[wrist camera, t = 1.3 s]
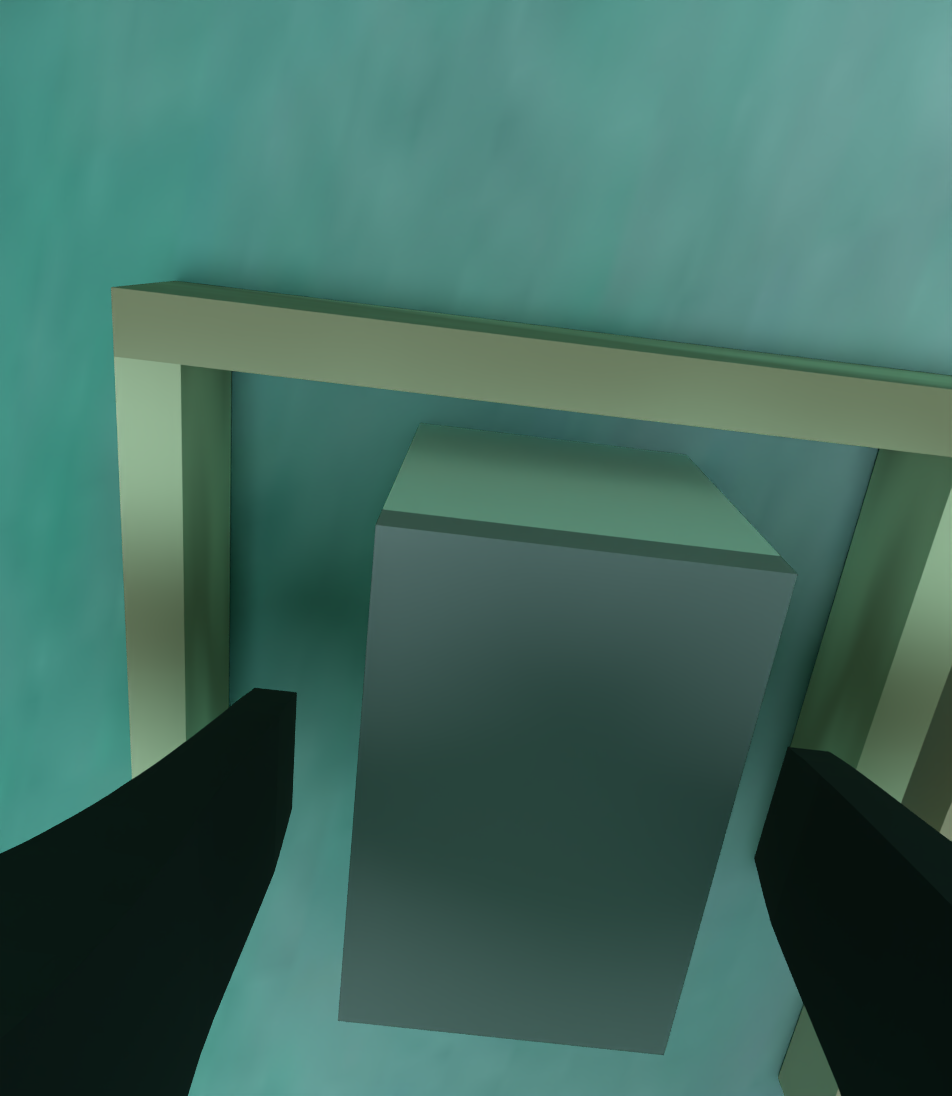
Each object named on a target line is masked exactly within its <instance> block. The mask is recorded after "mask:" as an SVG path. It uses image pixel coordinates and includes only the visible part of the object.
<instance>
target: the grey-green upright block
mask: <svg viewBox="0 0 952 1096" xmlns="http://www.w3.org/2000/svg"><path fill="white" fill-rule="evenodd" d="M797 575H798V574H797V573H796V572H795V571H794V570H793V569H792V568H791V567H790V566H789V565H788V564H787V562H786V561H785V560H784V559H783V558H782V557H781V556H780V555H779V554H778V553H777V552H776V551H775V550H774V549H773V547H772V546H771V545H770V544H769V543H768V542H767V541H766V540H765V539H764V538H763V537H762V536H761V535H760V534H759V532H758V531H757V530H756V529H755V528H754V527H753V526H752V525H751V524H750V523H749V522H748V521H747V520H746V519H745V517H744V516H743V515H742V514H741V513H740V512H739V511H738V510H737V509H736V508H735V507H734V506H733V505H732V504H731V502H730V501H729V500H728V499H727V498H726V497H725V496H724V495H723V494H722V493H721V492H720V491H719V490H718V489H717V487H716V486H715V485H714V484H713V483H712V482H711V481H710V480H709V479H708V478H707V477H706V476H705V475H704V473H703V472H702V471H701V470H700V469H699V468H698V467H697V466H696V465H695V464H694V463H693V462H692V461H691V460H690V458H689V457H688V456H687V455H684V454H676V453H667V452H659V451H651V450H642V449H634V448H625V447H617V446H609V445H600V444H592V443H583V442H575V441H567V440H558V439H550V438H542V437H533V436H525V435H516V434H508V433H500V432H491V431H483V430H475V429H466V428H458V427H449V426H441V425H433V424H424V423H420V425H419V427H418V429H417V432H416V434H415V436H414V438H413V441H412V443H411V445H410V448H409V450H408V452H407V454H406V457H405V459H404V461H403V464H402V466H401V468H400V470H399V473H398V475H397V477H396V480H395V482H394V484H393V486H392V489H391V491H390V493H389V496H388V498H387V500H386V502H385V505H384V507H383V509H382V512H381V514H380V516H379V519H378V521H377V523H376V527H375V540H374V554H373V567H372V580H371V593H370V606H369V619H368V632H367V646H366V659H365V672H364V685H363V698H362V711H361V724H360V738H359V751H358V764H357V777H356V790H355V803H354V817H353V830H352V843H351V856H350V869H349V882H348V895H347V909H346V922H345V935H344V948H343V961H342V974H341V987H340V1001H339V1014H338V1021H345V1022H354V1023H364V1024H373V1025H383V1026H392V1027H402V1028H411V1029H421V1030H430V1031H440V1032H449V1033H459V1034H468V1035H478V1036H487V1037H497V1038H506V1039H515V1040H525V1041H534V1042H544V1043H553V1044H563V1045H572V1046H582V1047H591V1048H601V1049H610V1050H620V1051H629V1052H639V1053H648V1054H658V1055H664V1053H665V1049H666V1046H667V1042H668V1038H669V1035H670V1031H671V1028H672V1024H673V1020H674V1017H675V1013H676V1010H677V1006H678V1002H679V999H680V995H681V992H682V988H683V984H684V981H685V977H686V974H687V970H688V967H689V963H690V959H691V956H692V952H693V949H694V945H695V941H696V938H697V934H698V931H699V927H700V923H701V920H702V916H703V913H704V909H705V905H706V902H707V898H708V895H709V891H710V887H711V884H712V880H713V877H714V873H715V869H716V866H717V862H718V859H719V855H720V852H721V848H722V844H723V841H724V837H725V834H726V830H727V826H728V823H729V819H730V816H731V812H732V808H733V805H734V801H735V798H736V794H737V790H738V787H739V783H740V780H741V776H742V772H743V769H744V765H745V762H746V758H747V754H748V751H749V747H750V744H751V740H752V737H753V733H754V729H755V726H756V722H757V719H758V715H759V711H760V708H761V704H762V701H763V697H764V693H765V690H766V686H767V683H768V679H769V675H770V672H771V668H772V665H773V661H774V657H775V654H776V650H777V647H778V643H779V639H780V636H781V632H782V629H783V625H784V622H785V618H786V614H787V611H788V607H789V604H790V600H791V596H792V593H793V589H794V586H795V582H796V578H797Z"/></svg>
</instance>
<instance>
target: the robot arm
mask: <svg viewBox="0 0 952 1096" xmlns="http://www.w3.org/2000/svg"><path fill="white" fill-rule="evenodd" d="M296 698H297V693H296V692H287V691H278V690H269V689H260V688H254V689H253V690H251V691H250V692H249V693H247V694H246V695H245V696H243V697H242V698H241V699H239V700H238V701H237V702H235V703H234V704H233V705H232V706H230V707H229V708H228V709H226V710H225V711H224V712H223V713H221V714H220V715H219V716H218V717H216V718H215V719H214V720H213V721H211V722H210V723H209V724H207V725H206V726H205V727H204V728H202V729H201V730H200V731H198V732H197V733H196V734H195V735H193V736H192V737H191V738H189V739H188V740H187V741H185V742H184V743H183V744H181V745H180V746H179V747H177V748H176V749H175V750H173V751H172V752H171V753H169V754H168V755H166V756H165V757H164V758H162V759H161V760H160V761H158V762H157V763H156V764H154V765H153V766H151V767H150V768H148V769H147V770H145V771H144V772H142V773H141V774H139V775H138V776H136V777H135V778H133V779H132V780H130V781H129V782H127V783H126V784H124V785H123V786H121V787H120V788H118V789H117V790H115V791H114V792H112V793H111V794H109V795H108V796H106V797H105V798H103V799H101V800H100V801H98V802H96V803H95V804H93V805H91V806H90V807H88V808H86V809H85V810H83V811H81V812H79V813H78V814H76V815H74V816H72V817H71V818H69V819H67V820H65V821H63V822H62V823H60V824H58V825H56V826H54V827H52V828H51V829H49V830H47V831H45V832H43V833H41V834H40V835H38V836H36V837H34V838H32V839H30V840H28V841H26V842H24V843H22V844H20V845H18V846H16V847H14V848H11V849H9V850H7V851H5V852H3V853H1V854H0V1096H188V1093H189V1090H190V1087H191V1083H192V1080H193V1077H194V1074H195V1071H196V1067H197V1064H198V1061H199V1058H200V1055H201V1052H202V1049H203V1047H204V1044H205V1041H206V1038H207V1036H208V1033H209V1030H210V1028H211V1025H212V1022H213V1019H214V1017H215V1015H216V1012H217V1010H218V1007H219V1005H220V1003H221V1000H222V998H223V995H224V993H225V991H226V988H227V986H228V983H229V981H230V979H231V976H232V974H233V971H234V969H235V966H236V964H237V962H238V959H239V957H240V954H241V952H242V950H243V947H244V945H245V942H246V940H247V938H248V935H249V933H250V930H251V928H252V926H253V923H254V921H255V918H256V916H257V913H258V911H259V909H260V906H261V904H262V901H263V899H264V896H265V894H266V891H267V889H268V886H269V884H270V881H271V879H272V876H273V874H274V871H275V868H276V864H277V861H278V857H279V854H280V850H281V847H282V843H283V840H284V836H285V832H286V829H287V825H288V821H289V817H290V814H291V810H292V794H293V770H294V746H295V722H296ZM754 859H755V863H756V867H757V871H758V875H759V879H760V883H761V887H762V892H763V896H764V899H765V903H766V906H767V910H768V913H769V917H770V921H771V924H772V927H773V929H774V932H775V935H776V937H777V940H778V942H779V945H780V947H781V950H782V952H783V955H784V957H785V960H786V962H787V965H788V967H789V970H790V972H791V974H792V977H793V979H794V982H795V984H796V987H797V989H798V991H799V994H800V996H801V999H802V1001H803V1004H804V1006H805V1008H806V1011H807V1013H808V1016H809V1018H810V1020H811V1023H812V1025H813V1028H814V1030H815V1032H816V1035H817V1037H818V1040H819V1042H820V1045H821V1047H822V1049H823V1052H824V1054H825V1057H826V1059H827V1061H828V1064H829V1066H830V1069H831V1071H832V1074H833V1076H834V1078H835V1081H836V1083H837V1086H838V1089H839V1091H840V1094H841V1096H952V841H950V840H949V839H947V838H946V837H945V836H943V835H942V834H941V833H939V832H938V831H937V830H936V829H934V828H933V827H932V826H930V825H929V824H928V823H926V822H925V821H924V820H922V819H921V818H920V817H918V816H917V815H916V814H914V813H913V812H912V811H910V810H909V809H908V808H907V807H905V806H904V805H903V804H901V803H900V802H899V801H897V800H896V799H895V798H893V797H892V796H891V795H890V794H888V793H887V792H886V791H884V790H883V789H882V788H880V787H879V786H878V785H876V784H875V783H874V782H872V781H871V780H870V779H868V778H867V777H866V776H864V775H863V774H862V773H860V772H859V771H858V770H856V769H855V768H853V767H852V766H851V765H849V764H848V763H846V762H845V761H843V760H842V759H840V758H839V757H837V756H836V755H834V754H832V753H831V752H829V751H821V750H812V749H803V748H794V747H788V748H787V751H786V755H785V758H784V761H783V765H782V768H781V771H780V775H779V778H778V781H777V785H776V788H775V791H774V795H773V798H772V801H771V804H770V808H769V811H768V814H767V818H766V821H765V824H764V828H763V831H762V834H761V838H760V841H759V844H758V848H757V851H756V854H755V858H754Z"/></svg>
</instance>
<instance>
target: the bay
mask: <svg viewBox="0 0 952 1096" xmlns="http://www.w3.org/2000/svg"><path fill="white" fill-rule="evenodd" d="M111 296H112V319H113V343H114V366H115V390H116V413H117V436H118V460H119V483H120V507H121V530H122V554H123V577H124V600H125V624H126V647H127V671H128V694H129V718H130V741H131V764H132V779H133V778H135V777H136V776H138V775H139V774H141V773H142V772H144V771H145V770H147V769H148V768H150V767H151V766H153V765H154V764H156V763H157V762H158V761H160V760H161V759H162V758H164V757H165V756H166V755H168V754H169V753H171V752H172V751H173V750H175V749H176V748H177V747H179V746H180V745H181V744H183V743H184V742H185V741H187V740H188V739H189V738H191V737H192V736H193V735H195V734H196V733H197V732H198V731H200V730H201V729H202V728H204V727H205V726H206V725H207V724H209V723H210V722H211V721H213V720H214V719H215V718H216V717H218V716H219V715H220V714H221V713H223V712H224V711H225V710H226V709H228V708H229V613H230V489H231V371H238V372H246V373H255V374H263V375H271V376H280V377H288V378H296V379H305V380H313V381H321V382H330V383H338V384H346V385H355V386H363V387H371V388H380V389H388V390H396V391H405V392H413V393H421V394H430V395H438V396H446V397H455V398H463V399H471V400H480V401H488V402H496V403H505V404H513V405H521V406H530V407H538V408H546V409H555V410H563V411H571V412H580V413H588V414H596V415H605V416H613V417H621V418H630V419H638V420H646V421H655V422H663V423H671V424H680V425H688V426H696V427H705V428H713V429H721V430H730V431H738V432H746V433H755V434H763V435H771V436H780V437H788V438H796V439H805V440H813V441H821V442H830V443H838V444H846V445H855V446H863V447H871V448H880V449H879V453H878V456H877V459H876V463H875V466H874V469H873V473H872V476H871V479H870V483H869V486H868V489H867V493H866V496H865V499H864V503H863V506H862V509H861V513H860V516H859V519H858V523H857V526H856V529H855V533H854V536H853V539H852V543H851V546H850V549H849V553H848V556H847V559H846V563H845V566H844V569H843V573H842V576H841V579H840V583H839V586H838V589H837V593H836V596H835V599H834V603H833V606H832V609H831V613H830V616H829V619H828V623H827V626H826V629H825V633H824V636H823V639H822V643H821V646H820V649H819V653H818V656H817V659H816V663H815V666H814V669H813V673H812V676H811V679H810V683H809V686H808V689H807V693H806V696H805V699H804V703H803V706H802V709H801V713H800V716H799V719H798V723H797V726H796V729H795V733H794V736H793V739H792V743H791V746H790V747H794V748H803V749H812V750H821V751H829V752H831V753H832V754H834V755H836V756H837V757H839V758H840V759H842V760H843V761H845V762H846V763H848V764H849V765H851V766H852V767H853V768H855V769H856V770H858V771H859V772H860V773H862V774H863V775H864V776H866V777H867V778H868V779H870V780H871V781H872V782H874V783H875V784H876V785H878V786H879V787H880V788H882V789H883V790H884V791H886V792H887V793H888V794H890V795H891V796H892V797H893V798H895V799H896V800H897V801H899V802H900V803H901V802H902V799H903V796H904V794H905V791H906V788H907V786H908V783H909V780H910V777H911V775H912V772H913V769H914V767H915V764H916V761H917V758H918V756H919V753H920V750H921V748H922V745H923V742H924V739H925V737H926V734H927V731H928V729H929V726H930V723H931V720H932V718H933V715H934V712H935V710H936V707H937V704H938V701H939V699H940V696H941V693H942V691H943V688H944V685H945V682H946V680H947V677H948V674H949V672H950V669H951V666H952V376H950V375H941V374H933V373H925V372H917V371H909V370H901V369H892V368H884V367H876V366H868V365H860V364H851V363H843V362H835V361H827V360H819V359H810V358H802V357H794V356H786V355H778V354H770V353H761V352H753V351H745V350H737V349H729V348H720V347H712V346H704V345H696V344H688V343H679V342H671V341H663V340H655V339H647V338H639V337H630V336H622V335H614V334H606V333H598V332H589V331H581V330H573V329H565V328H557V327H548V326H540V325H532V324H524V323H516V322H507V321H499V320H491V319H483V318H475V317H467V316H458V315H450V314H442V313H434V312H426V311H417V310H409V309H401V308H393V307H385V306H376V305H368V304H360V303H352V302H344V301H336V300H327V299H319V298H311V297H303V296H295V295H286V294H278V293H270V292H262V291H254V290H245V289H237V288H229V287H221V286H213V285H205V284H196V283H188V282H180V281H169V282H159V283H149V284H139V285H129V286H119V287H111Z"/></svg>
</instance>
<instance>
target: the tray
mask: <svg viewBox="0 0 952 1096" xmlns="http://www.w3.org/2000/svg"><path fill="white" fill-rule="evenodd" d="M901 804H903V805H904V806H905V807H907V808H908V809H909V810H910V811H912V812H913V813H914V814H916V815H917V816H918V817H920V818H921V819H922V820H924V821H925V822H926V823H928V824H929V825H930V826H932V827H933V828H934V829H936V830H937V831H938V832H939V833H941V834H942V835H943V836H945V837H946V838H947V839H949V840H950V841H952V666H951V669H950V672H949V674H948V677H947V680H946V682H945V685H944V688H943V691H942V693H941V696H940V699H939V701H938V704H937V707H936V710H935V712H934V715H933V718H932V720H931V723H930V726H929V729H928V731H927V734H926V737H925V739H924V742H923V745H922V748H921V750H920V753H919V756H918V758H917V761H916V764H915V767H914V769H913V772H912V775H911V777H910V780H909V783H908V786H907V788H906V791H905V794H904V796H903V799H902V802H901ZM778 1079H779V1082H780V1085H781V1088H782V1090H783V1093H784V1096H841V1094H840V1091H839V1089H838V1086H837V1083H836V1081H835V1078H834V1076H833V1074H832V1071H831V1069H830V1066H829V1064H828V1061H827V1059H826V1057H825V1054H824V1052H823V1049H822V1047H821V1045H820V1042H819V1040H818V1037H817V1035H816V1032H815V1030H814V1028H813V1025H812V1023H811V1020H810V1018H809V1016H808V1013H807V1011H806V1008H805V1006H803V1009H802V1012H801V1014H800V1017H799V1020H798V1023H797V1026H796V1029H795V1031H794V1034H793V1037H792V1040H791V1043H790V1045H789V1048H788V1051H787V1054H786V1057H785V1060H784V1062H783V1065H782V1068H781V1071H780V1074H779V1076H778Z"/></svg>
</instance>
